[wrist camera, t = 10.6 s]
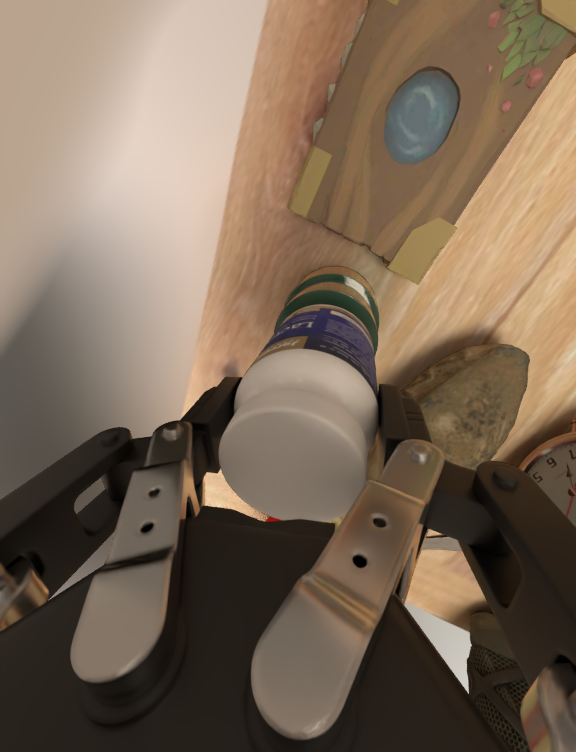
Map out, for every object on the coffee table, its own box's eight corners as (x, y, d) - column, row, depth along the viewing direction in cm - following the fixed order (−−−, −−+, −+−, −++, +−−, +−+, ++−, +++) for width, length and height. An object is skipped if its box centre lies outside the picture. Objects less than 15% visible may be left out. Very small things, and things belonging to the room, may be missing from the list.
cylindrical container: (289, 267, 26) (264, 285, 19) (379, 264, 24) (388, 283, 17) (293, 348, 29) (273, 389, 22) (373, 350, 28) (378, 395, 21)
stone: (440, 303, 25) (473, 336, 18) (539, 351, 25) (610, 404, 18) (339, 447, 33) (335, 509, 26) (414, 482, 33) (429, 554, 26)
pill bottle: (308, 280, 16) (253, 351, 8) (394, 340, 17) (434, 468, 8) (257, 360, 19) (175, 478, 11) (333, 409, 20) (315, 560, 11)
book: (410, 276, 24) (422, 288, 20) (285, 209, 24) (269, 207, 20) (570, 31, 17) (641, -33, 13) (394, -69, 17) (407, -169, 13)
